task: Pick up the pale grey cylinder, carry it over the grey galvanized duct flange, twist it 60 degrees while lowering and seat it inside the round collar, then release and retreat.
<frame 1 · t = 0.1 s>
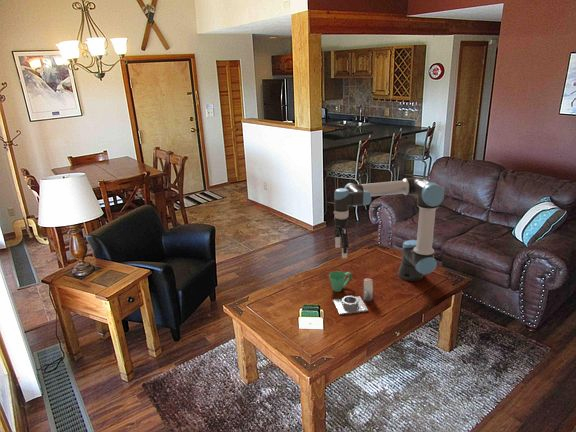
hand: (341, 252, 224), 28 cm above the table, fingers open, 13 cm apart
duct flange: (350, 306, 223), on the table
pale grey cylinder: (367, 298, 230), on the table
mug: (340, 288, 241), on the table
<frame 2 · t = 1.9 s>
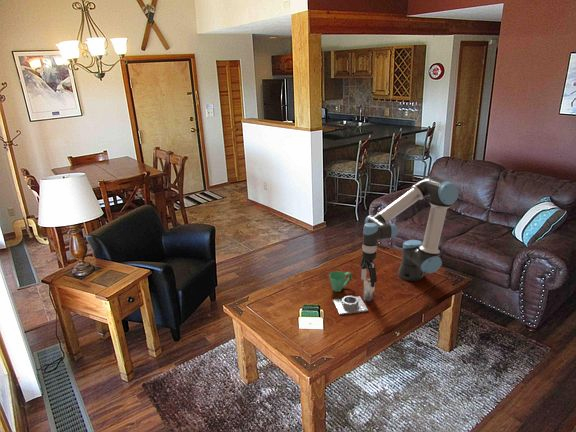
hand: (367, 285, 226), 9 cm above the table, fingers open, 13 cm apart
nothing on the table moved.
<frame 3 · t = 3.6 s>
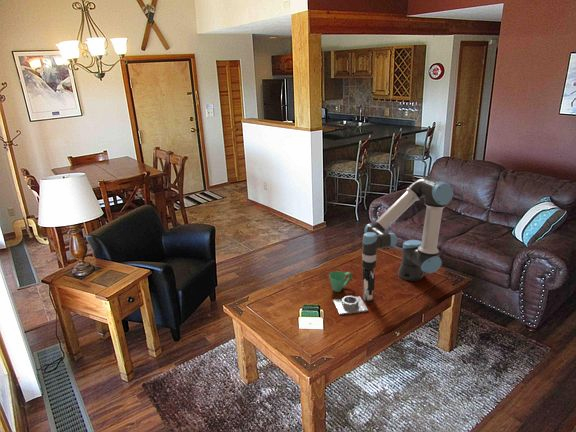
hand: (367, 296, 229), 2 cm above the table, fingers closed on pale grey cylinder, 5 cm apart
pale grey cylinder: (367, 298, 230), on the table, touching gripper
everything else where it was.
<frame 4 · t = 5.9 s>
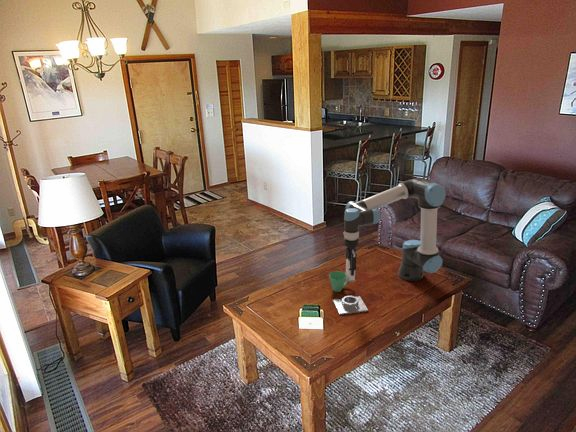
hand: (350, 277, 217), 18 cm above the table, fingers closed on pale grey cylinder, 5 cm apart
pale grey cylinder: (350, 279, 218), point 17 cm above the table, touching gripper
everything else where it was.
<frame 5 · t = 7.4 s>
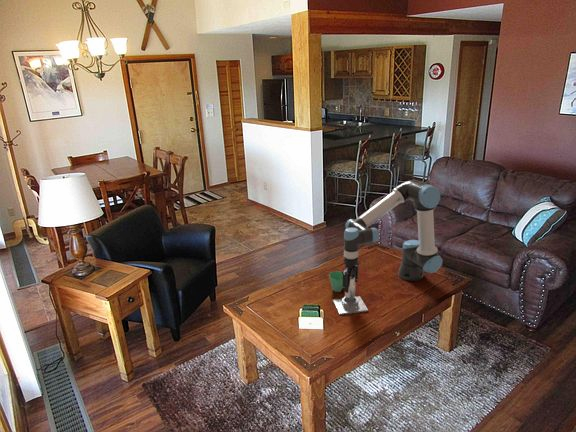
hand: (350, 294, 221), 8 cm above the table, fingers closed on pale grey cylinder, 5 cm apart
pale grey cylinder: (349, 297, 221), point 6 cm above the table, touching gripper
everything else where it was.
when the fingers open (6 cm above the table, at t = 8.4 s): pale grey cylinder drops 3 cm, resting on duct flange.
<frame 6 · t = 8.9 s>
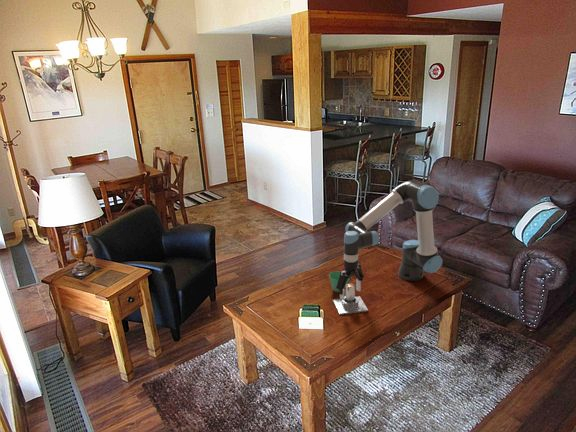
hand: (350, 294, 221), 7 cm above the table, fingers open, 12 cm apart
pale grey cylinder: (349, 304, 223), point 1 cm above the table, touching duct flange
everything else where it was.
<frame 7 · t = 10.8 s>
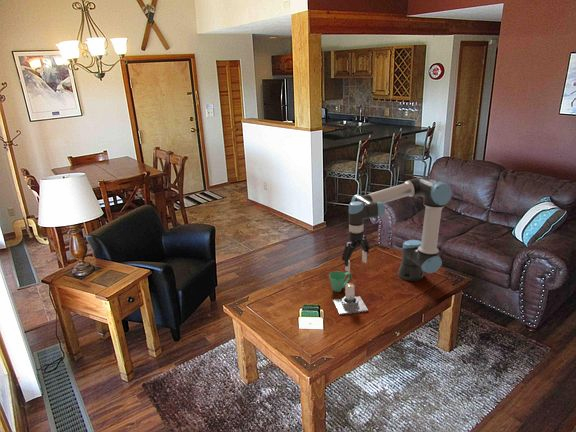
hand: (356, 266, 219), 23 cm above the table, fingers open, 13 cm apart
nothing on the table moved.
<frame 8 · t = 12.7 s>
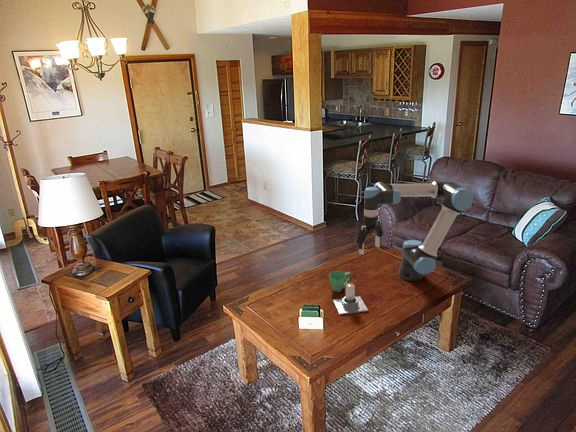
hand: (369, 250, 228), 27 cm above the table, fingers open, 13 cm apart
nothing on the table moved.
at the end: pale grey cylinder 0.1 cm off-centre on the duct flange, point 1.0 cm above the duct flange's base; pale grey cylinder tilted 1°; the gripper is holding nothing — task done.
